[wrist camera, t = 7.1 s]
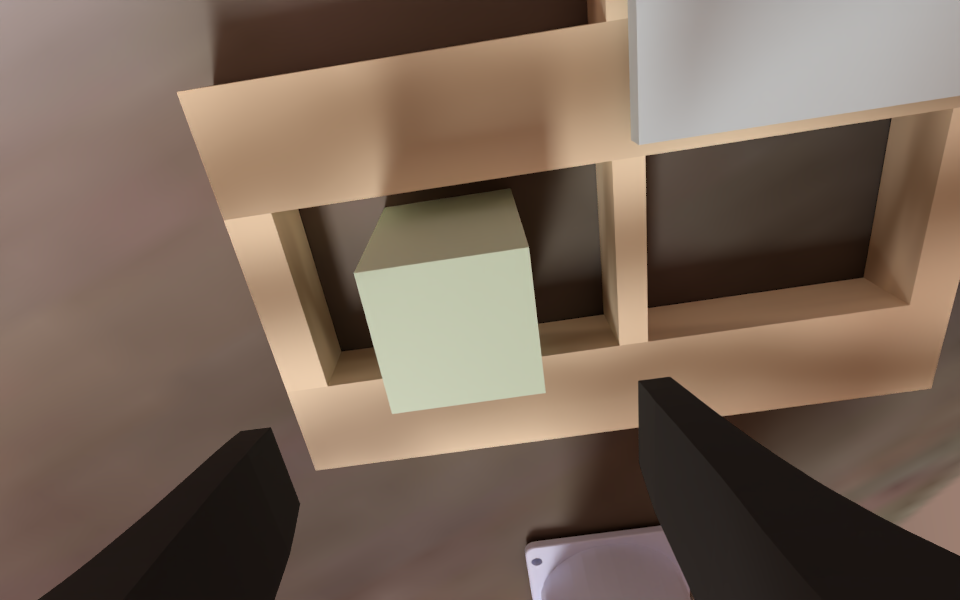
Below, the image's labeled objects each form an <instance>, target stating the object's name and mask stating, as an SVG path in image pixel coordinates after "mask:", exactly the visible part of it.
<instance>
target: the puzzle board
mask: <svg viewBox="0 0 960 600" xmlns="http://www.w3.org/2000/svg"><path fill="white" fill-rule="evenodd" d="M587 12H588V24H585V25H579V26H572V27H566V28H560V29H554V30H548V31H542V32H536V33H530V34H524V35H518V36H511V37H505V38H499V39H493V40H487V41H481V42H475V43H469V44H463V45H457V46H450V47H444V48H438V49H432V50H426V51H420V52H414V53H408V54H402V55H396V56H389V57H383V58H377V59H371V60H365V61H359V62H353V63H347V64H341V65H334V66H328V67H322V68H316V69H310V70H304V71H298V72H292V73H286V74H280V75H273V76H267V77H261V78H255V79H249V80H243V81H237V82H231V83H225V84H219V85H212V86H207V87H202V88H196V89H191V90H186V91H180V92H177V94H178V97H179V100H180V102H181V105H182V108H183V111H184V113H185V116H186V119H187V121H188V124H189V127H190V130H191V132H192V135H193V138H194V140H195V143H196V146H197V149H198V151H199V154H200V157H201V160H202V162H203V165H204V168H205V170H206V173H207V176H208V179H209V181H210V184H211V187H212V189H213V192H214V195H215V198H216V200H217V203H218V206H219V208H220V211H221V214H222V217H223V219H224V222H225V225H226V227H227V230H228V233H229V236H230V238H231V241H232V244H233V247H234V249H235V252H236V255H237V257H238V260H239V263H240V266H241V268H242V271H243V274H244V276H245V279H246V282H247V285H248V287H249V290H250V293H251V295H252V298H253V301H254V304H255V306H256V309H257V312H258V314H259V317H260V320H261V323H262V325H263V328H264V331H265V334H266V336H267V339H268V342H269V344H270V347H271V350H272V353H273V355H274V358H275V361H276V363H277V366H278V369H279V372H280V374H281V377H282V380H283V382H284V385H285V388H286V391H287V393H288V396H289V399H290V401H291V404H292V407H293V410H294V412H295V415H296V418H297V421H298V423H299V426H300V429H301V431H302V434H303V437H304V440H305V442H306V445H307V448H308V450H309V453H310V456H311V459H312V461H313V464H314V467H315V469H316V470H323V469H331V468H338V467H346V466H353V465H361V464H368V463H376V462H383V461H391V460H398V459H406V458H413V457H421V456H428V455H436V454H443V453H451V452H458V451H466V450H473V449H481V448H488V447H496V446H503V445H511V444H518V443H526V442H533V441H541V440H548V439H556V438H563V437H571V436H578V435H586V434H593V433H601V432H608V431H616V430H623V429H631V428H638V427H639V422H638V381H640V380H647V379H655V378H663V377H671V378H673V379H674V380H675V381H677V382H678V383H679V384H680V385H682V386H683V387H684V388H686V389H687V390H688V391H689V392H691V393H692V394H693V395H695V396H696V397H697V398H698V399H700V400H701V401H702V402H704V403H705V404H706V405H707V406H709V407H710V408H711V409H713V410H714V411H715V412H717V413H718V414H719V415H721V416H728V415H736V414H743V413H751V412H758V411H766V410H773V409H781V408H788V407H796V406H803V405H811V404H818V403H826V402H833V401H841V400H848V399H856V398H863V397H871V396H878V395H886V394H893V393H901V392H908V391H916V390H923V389H931V387H932V383H933V379H934V375H935V371H936V368H937V364H938V360H939V356H940V352H941V348H942V345H943V341H944V337H945V333H946V329H947V325H948V322H949V318H950V314H951V310H952V306H953V302H954V299H955V295H956V291H957V287H958V283H959V280H960V96H954V97H948V98H941V99H935V100H928V101H922V102H915V103H909V104H902V105H896V106H889V107H883V108H876V109H870V110H863V111H857V112H850V113H844V114H837V115H831V116H824V117H818V118H811V119H805V120H799V121H792V122H786V123H779V124H773V125H766V126H760V127H753V128H747V129H740V130H734V131H727V132H721V133H714V134H708V135H701V136H695V137H688V138H682V139H675V140H669V141H662V142H656V143H649V144H643V145H638V144H636V143H635V142H633V141H631V119H630V79H629V39H628V0H587ZM888 118H892V119H891V125H890V131H889V136H888V142H887V148H886V153H885V159H884V165H883V170H882V176H881V182H880V187H879V193H878V199H877V204H876V210H875V216H874V221H873V227H872V233H871V238H870V244H869V250H868V255H867V261H866V267H865V272H864V278H857V279H850V280H843V281H836V282H829V283H822V284H815V285H808V286H801V287H794V288H786V289H779V290H772V291H765V292H758V293H751V294H744V295H737V296H730V297H723V298H716V299H709V300H702V301H695V302H688V303H681V304H674V305H667V306H660V307H653V308H648V301H647V229H646V158H645V156H646V155H653V154H660V153H666V152H673V151H679V150H686V149H692V148H699V147H705V146H712V145H718V144H725V143H731V142H738V141H744V140H751V139H757V138H764V137H770V136H777V135H783V134H790V133H796V132H803V131H809V130H816V129H822V128H829V127H835V126H842V125H849V124H855V123H862V122H868V121H875V120H881V119H888ZM594 163H596V179H597V198H598V216H599V235H600V253H601V272H602V291H603V309H604V315H597V316H590V317H582V318H575V319H568V320H561V321H554V322H547V323H540V324H538V330H539V338H540V347H541V356H542V364H543V373H544V382H545V390H546V393H542V394H535V395H528V396H520V397H513V398H506V399H498V400H491V401H484V402H477V403H469V404H462V405H455V406H448V407H440V408H433V409H426V410H418V411H411V412H404V413H397V414H392V412H391V408H390V405H389V401H388V397H387V394H386V390H385V386H384V383H383V379H382V375H381V372H380V368H379V364H378V360H377V357H376V353H375V349H374V347H371V348H364V349H357V350H350V351H343V352H341V349H340V346H339V342H338V339H337V336H336V332H335V329H334V326H333V322H332V319H331V316H330V313H329V309H328V306H327V303H326V299H325V296H324V293H323V289H322V286H321V283H320V280H319V276H318V273H317V270H316V266H315V263H314V260H313V256H312V253H311V250H310V247H309V243H308V240H307V237H306V233H305V230H304V227H303V223H302V220H301V217H300V213H299V210H298V209H301V208H308V207H314V206H321V205H327V204H334V203H340V202H347V201H353V200H360V199H366V198H373V197H379V196H386V195H392V194H399V193H405V192H412V191H418V190H425V189H431V188H438V187H444V186H451V185H457V184H464V183H471V182H477V181H484V180H490V179H497V178H503V177H510V176H516V175H523V174H529V173H536V172H542V171H549V170H555V169H562V168H568V167H575V166H581V165H588V164H594Z"/></svg>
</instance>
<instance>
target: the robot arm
mask: <svg viewBox="0 0 960 600" xmlns="http://www.w3.org/2000/svg"><path fill="white" fill-rule="evenodd" d="M638 422H639V464H640V468H641V471H642V474H643V477H644V480H645V484H646V487H647V490H648V493H649V496H650V499H651V502H652V505H653V508H654V511H655V513H656V516H657V518H658V520H659V522H660V525H661V526H653V527H645V528H637V529H629V530H621V531H613V532H605V533H597V534H589V535H581V536H574V537H566V538H558V539H550V540H542V541H534V542H530V543H529V544H527V545H526V547H525V555H526V561H527V568H528V574H529V580H530V586H531V593H532V599H533V600H691V598H690V590H691V592H692V594H693V597H694V599H695V600H960V556H959V555H957V554H955V553H952V552H950V551H948V550H946V549H944V548H942V547H940V546H938V545H936V544H934V543H932V542H930V541H927V540H925V539H923V538H921V537H919V536H917V535H915V534H913V533H911V532H909V531H907V530H905V529H903V528H901V527H899V526H897V525H895V524H893V523H891V522H889V521H887V520H885V519H883V518H881V517H880V516H878V515H876V514H874V513H872V512H870V511H869V510H867V509H865V508H863V507H861V506H860V505H858V504H856V503H854V502H852V501H851V500H849V499H847V498H845V497H843V496H842V495H840V494H838V493H836V492H834V491H833V490H831V489H829V488H828V487H826V486H824V485H823V484H821V483H819V482H818V481H816V480H814V479H813V478H811V477H809V476H808V475H806V474H805V473H803V472H802V471H800V470H799V469H797V468H795V467H794V466H792V465H791V464H789V463H788V462H786V461H785V460H783V459H781V458H780V457H778V456H777V455H775V454H774V453H772V452H771V451H769V450H768V449H766V448H765V447H764V446H762V445H761V444H759V443H758V442H756V441H755V440H753V439H752V438H751V437H749V436H748V435H746V434H745V433H744V432H742V431H741V430H740V429H738V428H737V427H735V426H734V425H733V424H731V423H730V422H729V421H727V420H726V419H725V418H723V417H722V416H721V415H719V414H718V413H717V412H715V411H714V410H713V409H711V408H710V407H709V406H707V405H706V404H705V403H704V402H702V401H701V400H700V399H698V398H697V397H696V396H695V395H693V394H692V393H691V392H689V391H688V390H687V389H686V388H684V387H683V386H682V385H680V384H679V383H678V382H677V381H675V380H674V379H673V378H671V377H663V378H655V379H647V380H640V381H638ZM299 506H300V503H299V500H298V497H297V495H296V492H295V490H294V487H293V484H292V482H291V479H290V476H289V474H288V471H287V469H286V466H285V463H284V461H283V458H282V455H281V453H280V450H279V448H278V445H277V442H276V440H275V437H274V434H273V432H272V429H271V427H270V428H262V429H254V430H246V431H240V432H239V433H238V434H237V435H235V436H234V437H233V438H231V439H230V440H229V441H228V442H227V443H225V444H224V445H223V446H222V447H221V448H220V449H218V450H217V451H216V452H215V453H214V454H213V455H212V456H211V457H209V458H208V459H207V460H206V461H205V462H204V463H203V464H202V465H200V466H199V467H198V468H197V469H196V470H195V471H194V472H193V473H192V474H190V475H189V476H188V477H187V478H186V479H185V480H184V481H183V482H181V483H180V484H179V485H178V486H177V487H176V488H175V489H174V490H173V491H171V492H170V493H169V494H168V495H167V496H166V497H165V498H164V499H162V500H161V501H160V502H159V503H158V504H157V505H156V506H155V507H153V508H152V509H151V510H150V511H149V512H148V513H146V514H145V515H144V516H143V517H142V518H141V519H139V520H138V521H137V522H136V523H135V524H133V525H132V526H131V527H130V528H129V529H127V530H126V531H125V532H124V533H123V534H121V535H120V536H119V537H118V538H117V539H115V540H114V541H113V542H112V543H111V544H109V545H108V546H107V547H106V548H105V549H103V550H102V551H101V552H100V553H99V554H97V555H96V556H95V557H94V558H92V559H91V560H90V561H89V562H87V563H86V564H85V565H84V566H82V567H81V568H80V569H78V570H77V571H76V572H75V573H73V574H72V575H71V576H69V577H68V578H67V579H65V580H64V581H63V582H62V583H60V584H59V585H57V586H56V587H55V588H53V589H52V590H51V591H49V592H48V593H46V594H45V595H44V596H42V597H41V598H40V599H38V600H275V597H276V594H277V591H278V588H279V585H280V582H281V579H282V576H283V573H284V570H285V567H286V564H287V561H288V558H289V555H290V551H291V546H292V542H293V537H294V533H295V527H296V522H297V517H298V512H299ZM535 558H537V559H535Z"/></svg>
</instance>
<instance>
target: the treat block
mask: <svg viewBox="0 0 960 600" xmlns="http://www.w3.org/2000/svg"><path fill="white" fill-rule="evenodd" d="M354 276H355V279H356V283H357V287H358V291H359V294H360V298H361V302H362V305H363V309H364V313H365V316H366V320H367V324H368V327H369V331H370V335H371V338H372V342H373V346H374V349H375V353H376V357H377V360H378V364H379V368H380V372H381V375H382V379H383V383H384V386H385V390H386V394H387V397H388V401H389V405H390V408H391V412H392V414H397V413H404V412H411V411H418V410H426V409H433V408H440V407H448V406H455V405H462V404H469V403H477V402H484V401H491V400H498V399H506V398H513V397H520V396H528V395H535V394H542V393H546V390H545V382H544V373H543V364H542V356H541V347H540V338H539V330H538V321H537V312H536V304H535V295H534V286H533V277H532V269H531V260H530V251H529V246H528V242H527V239H526V236H525V233H524V230H523V226H522V223H521V220H520V217H519V213H518V210H517V207H516V204H515V201H514V197H513V194H512V191H511V188H509V189H502V190H496V191H489V192H483V193H476V194H470V195H463V196H457V197H450V198H444V199H437V200H431V201H424V202H417V203H411V204H404V205H398V206H391V207H385V208H384V210H383V212H382V214H381V216H380V219H379V221H378V223H377V225H376V227H375V229H374V231H373V233H372V236H371V238H370V240H369V242H368V244H367V246H366V248H365V250H364V253H363V255H362V257H361V259H360V261H359V263H358V265H357V267H356V270H355V272H354Z"/></svg>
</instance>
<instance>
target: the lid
mask: <svg viewBox="0 0 960 600" xmlns="http://www.w3.org/2000/svg"><path fill="white" fill-rule="evenodd" d="M628 39H629V79H630V119H631V141H633V142H635V143H636V144H638V145H643V144H649V143H656V142H662V141H669V140H675V139H682V138H688V137H695V136H701V135H708V134H714V133H721V132H727V131H734V130H740V129H747V128H753V127H760V126H766V125H773V124H779V123H786V122H792V121H799V120H805V119H811V118H818V117H824V116H831V115H837V114H844V113H850V112H857V111H863V110H870V109H876V108H883V107H889V106H896V105H902V104H909V103H915V102H922V101H928V100H935V99H941V98H948V97H954V96H960V0H628Z"/></svg>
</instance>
